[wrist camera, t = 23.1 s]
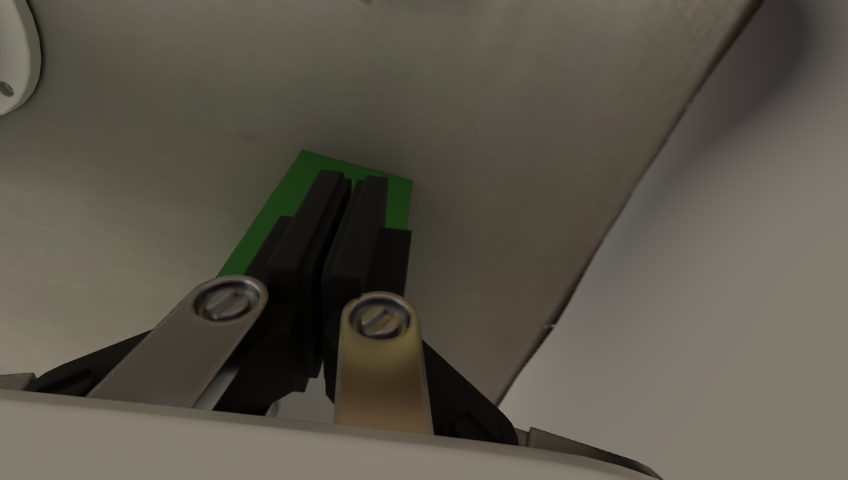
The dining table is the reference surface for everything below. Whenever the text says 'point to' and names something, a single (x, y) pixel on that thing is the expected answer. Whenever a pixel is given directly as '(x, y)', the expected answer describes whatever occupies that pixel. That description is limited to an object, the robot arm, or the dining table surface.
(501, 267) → the dining table surface
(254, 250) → the hardback book
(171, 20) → the dining table surface
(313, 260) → the robot arm
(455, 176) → the dining table surface
